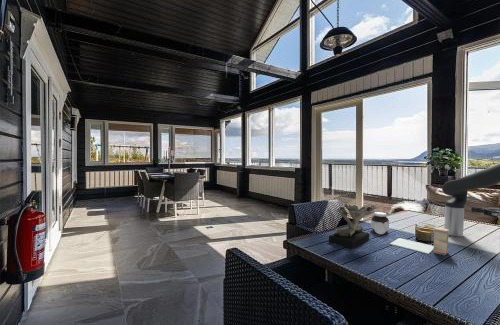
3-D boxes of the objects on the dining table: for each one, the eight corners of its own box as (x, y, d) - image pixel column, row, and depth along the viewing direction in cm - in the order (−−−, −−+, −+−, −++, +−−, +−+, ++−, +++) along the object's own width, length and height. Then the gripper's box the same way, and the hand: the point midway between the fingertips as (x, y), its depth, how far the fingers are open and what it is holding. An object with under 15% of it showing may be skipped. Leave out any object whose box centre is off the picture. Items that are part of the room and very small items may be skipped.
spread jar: (382, 229, 172) (383, 211, 171) (395, 234, 160) (395, 215, 160) (366, 229, 169) (366, 212, 169) (377, 235, 158) (378, 216, 158)
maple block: (435, 250, 135) (436, 227, 135) (447, 252, 132) (448, 229, 131) (433, 252, 132) (434, 229, 131) (445, 255, 128) (446, 231, 128)
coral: (349, 232, 163) (350, 198, 162) (383, 241, 148) (384, 204, 147) (327, 241, 146) (328, 204, 145) (363, 252, 131) (364, 210, 130)
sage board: (398, 238, 152) (399, 237, 152) (435, 247, 139) (435, 246, 139) (389, 244, 143) (389, 243, 143) (428, 254, 130) (428, 253, 130)
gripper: (525, 205, 115) (474, 199, 128) (524, 209, 106) (469, 202, 119) (524, 221, 116) (473, 214, 129) (523, 227, 107) (468, 219, 120)
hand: (471, 209), depth 124 cm, fingers closed
